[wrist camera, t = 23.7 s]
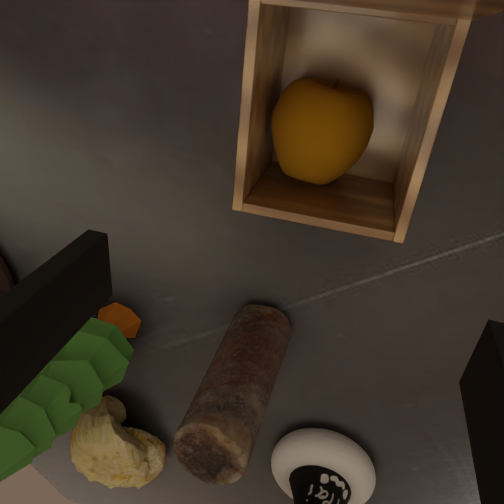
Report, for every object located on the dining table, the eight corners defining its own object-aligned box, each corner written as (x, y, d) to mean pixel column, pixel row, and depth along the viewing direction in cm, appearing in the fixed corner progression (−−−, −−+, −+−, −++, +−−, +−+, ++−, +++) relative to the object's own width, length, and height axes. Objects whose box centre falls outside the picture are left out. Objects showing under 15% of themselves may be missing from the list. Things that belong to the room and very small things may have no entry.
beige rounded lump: (100, 423, 80) (166, 475, 77) (51, 470, 72) (123, 530, 68) (114, 363, 71) (189, 418, 68) (60, 408, 63) (143, 474, 59)
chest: (399, 188, 44) (403, 243, 34) (265, 164, 46) (232, 209, 36) (449, 8, 36) (474, 12, 26) (284, -10, 38) (249, -13, 28)
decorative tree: (120, 283, 59) (-76, 493, 34) (167, 333, 62) (16, 565, 36) (80, 313, 64) (-118, 517, 39) (125, 358, 66) (-34, 579, 41)
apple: (280, 194, 35) (313, 77, 31) (245, 158, 42) (268, 58, 38) (368, 202, 39) (407, 98, 35) (322, 168, 45) (351, 77, 41)
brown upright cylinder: (231, 337, 59) (169, 472, 42) (235, 292, 55) (169, 421, 38) (288, 351, 58) (247, 497, 41) (296, 306, 54) (255, 446, 37)
